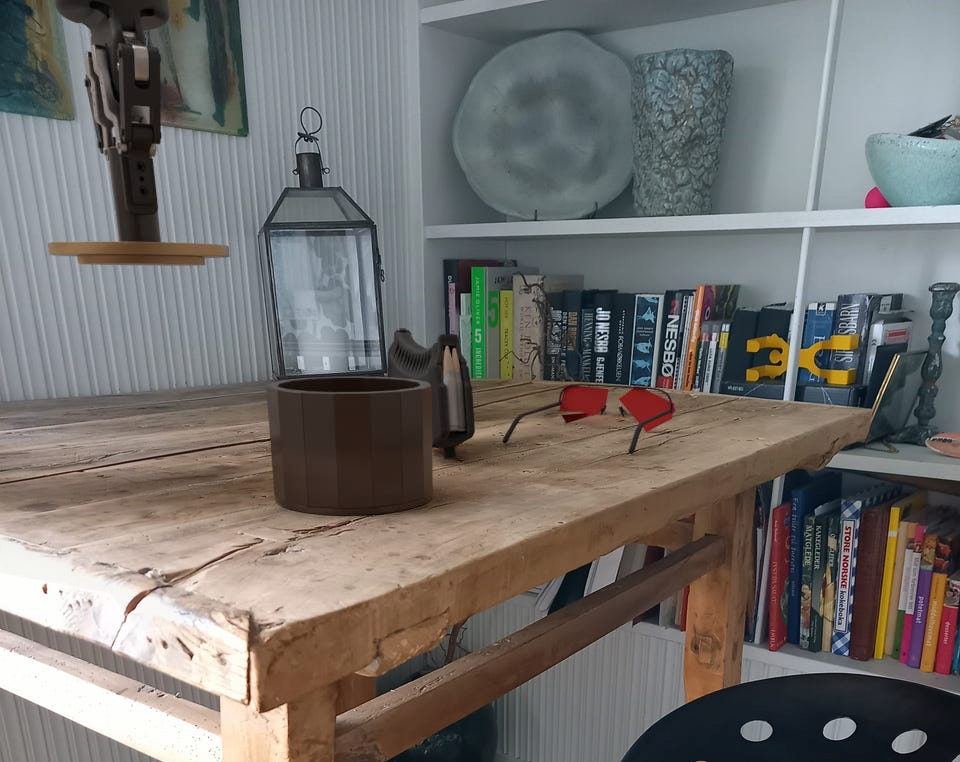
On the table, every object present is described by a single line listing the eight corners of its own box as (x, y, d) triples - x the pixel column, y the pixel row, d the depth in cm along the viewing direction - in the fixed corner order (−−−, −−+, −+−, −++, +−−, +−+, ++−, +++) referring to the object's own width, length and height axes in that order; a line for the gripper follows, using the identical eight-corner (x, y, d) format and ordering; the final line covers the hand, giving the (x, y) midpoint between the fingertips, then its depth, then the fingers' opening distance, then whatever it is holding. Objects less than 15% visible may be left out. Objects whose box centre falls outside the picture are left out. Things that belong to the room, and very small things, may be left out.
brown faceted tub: (310, 522, 65) (302, 396, 62) (254, 490, 74) (245, 380, 71) (460, 503, 70) (459, 388, 67) (389, 476, 80) (387, 374, 77)
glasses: (675, 432, 104) (679, 386, 102) (632, 455, 90) (636, 402, 88) (558, 424, 110) (560, 380, 108) (501, 444, 96) (502, 394, 94)
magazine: (381, 339, 111) (429, 255, 82) (408, 339, 112) (465, 256, 83) (392, 484, 112) (442, 452, 83) (418, 483, 113) (477, 451, 84)
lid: (65, 262, 63) (46, 130, 60) (38, 264, 73) (21, 151, 70) (253, 264, 69) (244, 145, 66) (203, 266, 80) (194, 163, 77)
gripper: (31, -43, 68) (68, 218, 74) (62, -107, 56) (102, 207, 63) (138, -26, 71) (164, 221, 77) (187, -83, 60) (213, 212, 66)
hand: (136, 214), depth 70 cm, fingers closed on lid, 3 cm apart
